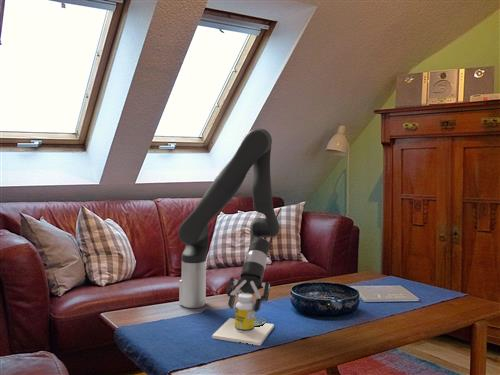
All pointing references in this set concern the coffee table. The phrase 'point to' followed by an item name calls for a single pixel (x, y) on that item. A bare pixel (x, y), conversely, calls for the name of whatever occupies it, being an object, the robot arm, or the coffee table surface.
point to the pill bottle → (244, 313)
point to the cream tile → (242, 333)
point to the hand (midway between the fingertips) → (243, 309)
